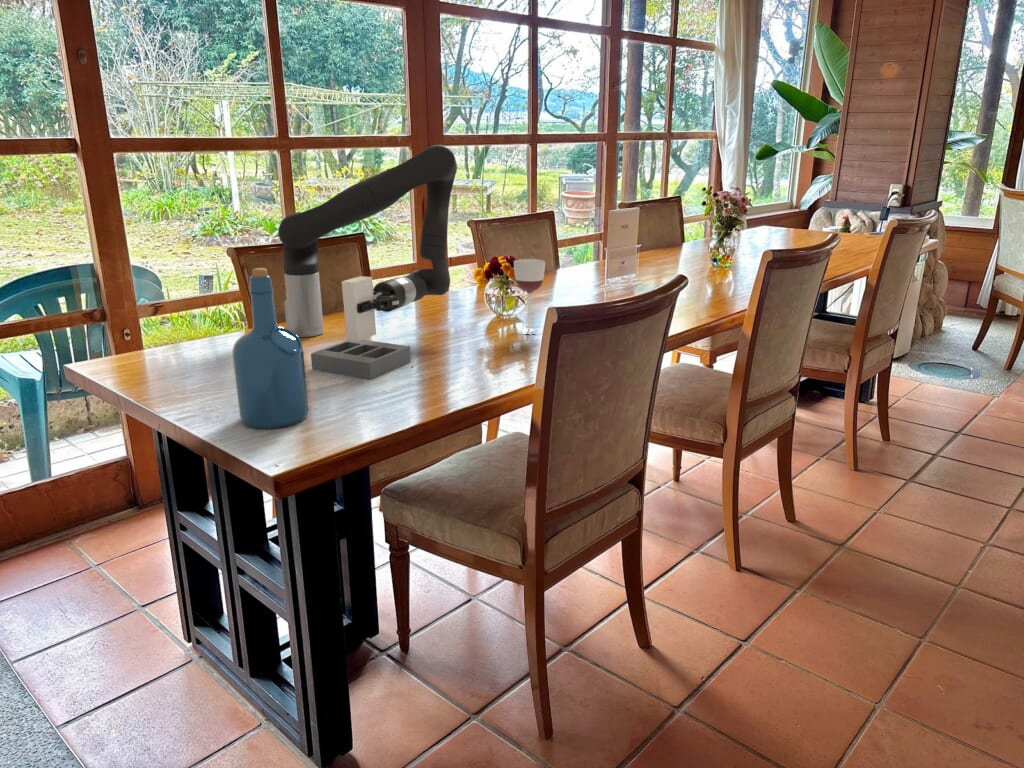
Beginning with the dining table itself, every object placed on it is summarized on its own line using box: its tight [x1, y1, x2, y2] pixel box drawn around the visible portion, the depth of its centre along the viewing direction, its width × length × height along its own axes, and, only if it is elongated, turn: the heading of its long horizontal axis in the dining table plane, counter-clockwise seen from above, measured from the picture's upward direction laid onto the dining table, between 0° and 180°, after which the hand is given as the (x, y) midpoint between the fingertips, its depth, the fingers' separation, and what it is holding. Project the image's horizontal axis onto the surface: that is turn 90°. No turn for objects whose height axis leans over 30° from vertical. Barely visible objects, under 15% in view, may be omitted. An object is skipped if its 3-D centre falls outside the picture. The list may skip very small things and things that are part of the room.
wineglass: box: [513, 258, 546, 332], centre depth 217 cm, size 8×9×20 cm
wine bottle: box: [231, 267, 310, 430], centre depth 150 cm, size 14×13×30 cm
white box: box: [341, 275, 377, 341], centre depth 184 cm, size 3×7×14 cm, turn 153°
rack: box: [310, 339, 412, 381], centre depth 188 cm, size 17×16×4 cm
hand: (351, 308), depth 182 cm, fingers closed on white box, 3 cm apart
